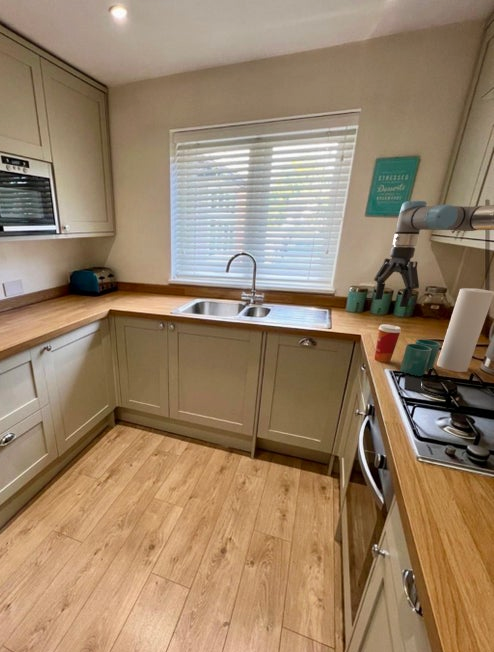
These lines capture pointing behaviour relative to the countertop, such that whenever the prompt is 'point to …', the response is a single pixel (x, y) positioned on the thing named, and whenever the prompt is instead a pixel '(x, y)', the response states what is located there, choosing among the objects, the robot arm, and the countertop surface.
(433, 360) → the teal cup
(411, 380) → the mat
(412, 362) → the teal cup
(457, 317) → the paper towel roll
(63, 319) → the countertop surface
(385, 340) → the paper cup
